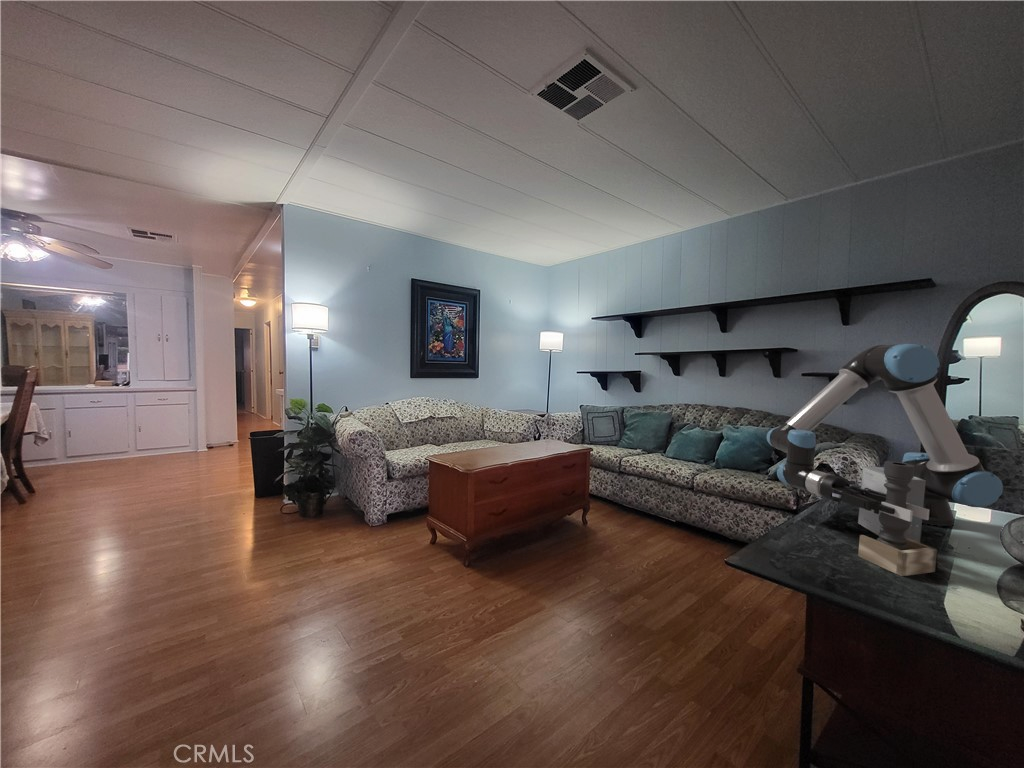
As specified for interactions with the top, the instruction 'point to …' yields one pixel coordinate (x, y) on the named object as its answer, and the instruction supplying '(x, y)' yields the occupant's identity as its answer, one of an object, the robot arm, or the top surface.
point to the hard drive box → (876, 481)
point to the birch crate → (899, 556)
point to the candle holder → (896, 503)
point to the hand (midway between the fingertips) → (919, 515)
